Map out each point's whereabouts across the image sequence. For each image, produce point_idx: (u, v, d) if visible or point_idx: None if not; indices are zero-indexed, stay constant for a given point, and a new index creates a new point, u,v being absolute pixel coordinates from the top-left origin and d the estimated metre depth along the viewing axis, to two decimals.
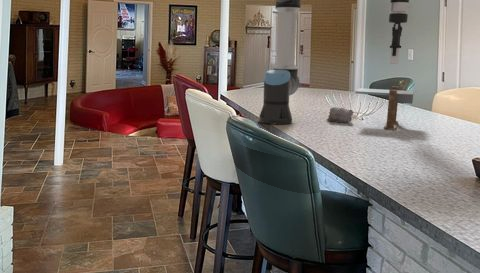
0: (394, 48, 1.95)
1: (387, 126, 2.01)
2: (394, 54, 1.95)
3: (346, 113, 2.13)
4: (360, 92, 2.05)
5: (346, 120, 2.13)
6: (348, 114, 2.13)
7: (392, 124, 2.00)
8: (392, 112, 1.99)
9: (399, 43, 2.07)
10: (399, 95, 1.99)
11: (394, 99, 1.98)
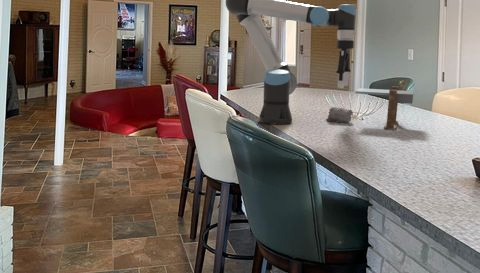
0: (340, 73, 2.06)
1: (387, 126, 2.01)
2: (340, 79, 2.07)
3: (345, 113, 2.13)
4: (360, 92, 2.05)
5: (345, 120, 2.14)
6: (347, 114, 2.13)
7: (392, 124, 2.00)
8: (392, 112, 1.99)
9: (348, 67, 2.19)
10: (399, 95, 1.99)
11: (394, 99, 1.98)
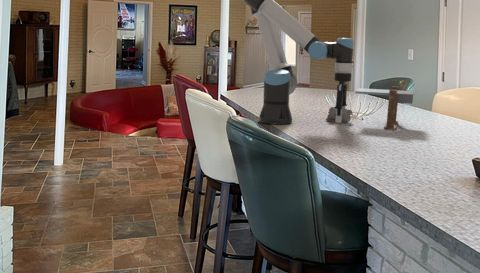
0: (338, 109, 2.12)
1: (387, 126, 2.01)
2: (338, 114, 2.12)
3: (345, 113, 2.13)
4: (360, 92, 2.05)
5: (345, 120, 2.14)
6: (347, 114, 2.13)
7: (392, 124, 2.00)
8: (392, 112, 1.99)
9: (345, 101, 2.20)
10: (399, 95, 1.99)
11: (394, 99, 1.98)
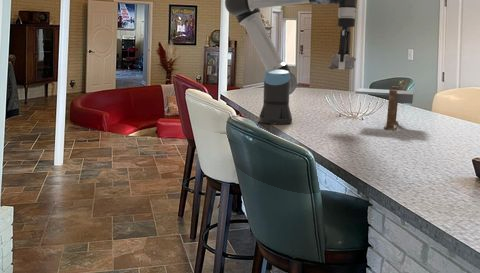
0: (341, 54, 2.07)
1: (387, 126, 2.01)
2: (342, 60, 2.07)
3: (348, 59, 2.08)
4: (360, 92, 2.05)
5: (348, 66, 2.09)
6: (350, 60, 2.08)
7: (392, 124, 2.00)
8: (392, 112, 1.99)
9: (348, 49, 2.15)
10: (399, 95, 1.99)
11: (394, 99, 1.98)
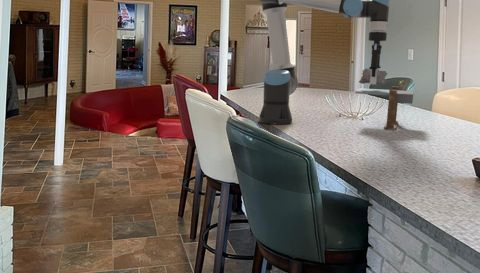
0: (373, 69, 2.03)
1: (387, 126, 2.01)
2: (373, 75, 2.04)
3: (380, 74, 2.05)
4: (360, 92, 2.05)
5: (380, 81, 2.05)
6: (382, 75, 2.04)
7: (392, 124, 2.00)
8: (392, 112, 1.99)
9: (379, 63, 2.12)
10: (399, 95, 1.99)
11: (394, 99, 1.98)
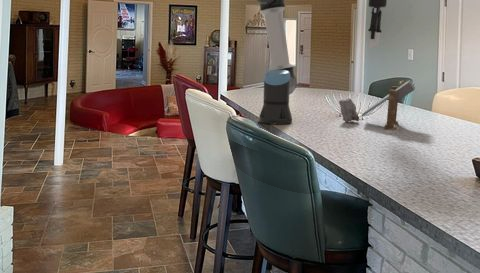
0: (372, 31, 1.99)
1: (387, 126, 2.01)
2: (372, 37, 2.00)
3: (341, 105, 2.15)
4: (366, 112, 2.06)
5: (347, 102, 2.13)
6: (341, 103, 2.14)
7: (392, 124, 2.00)
8: (392, 112, 1.99)
9: (379, 27, 2.12)
10: (398, 91, 1.99)
11: (394, 99, 1.98)
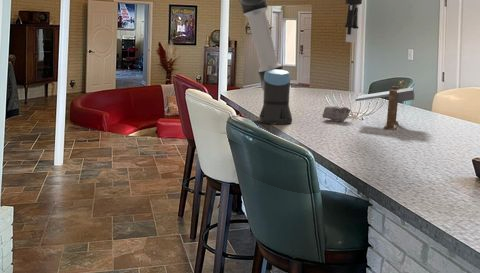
0: (349, 27, 2.12)
1: (387, 126, 2.01)
2: (349, 33, 2.13)
3: (326, 116, 2.19)
4: (360, 99, 2.06)
5: (326, 109, 2.19)
6: (324, 115, 2.20)
7: (392, 124, 2.00)
8: (392, 112, 1.99)
9: (356, 24, 2.24)
10: (399, 94, 1.99)
11: (394, 99, 1.98)
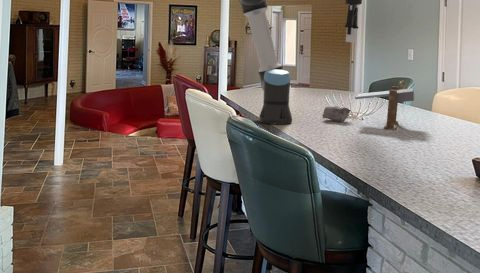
0: (349, 27, 2.12)
1: (387, 126, 2.01)
2: (349, 33, 2.13)
3: (326, 116, 2.19)
4: (360, 97, 2.05)
5: (325, 110, 2.19)
6: (324, 115, 2.20)
7: (392, 124, 2.00)
8: (392, 112, 1.99)
9: (356, 24, 2.24)
10: (399, 94, 1.99)
11: (394, 99, 1.98)
